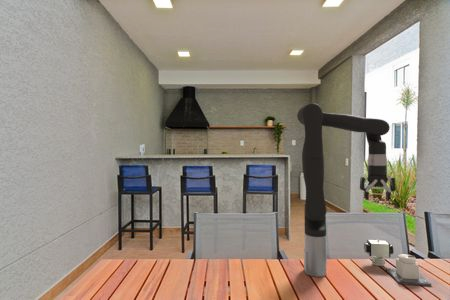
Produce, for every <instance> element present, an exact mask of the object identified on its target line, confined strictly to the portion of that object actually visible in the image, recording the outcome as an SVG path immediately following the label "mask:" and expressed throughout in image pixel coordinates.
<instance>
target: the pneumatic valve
mask: <svg viewBox="0 0 450 300" xmlns="http://www.w3.org/2000/svg"><path fill="white" fill-rule="evenodd" d="M363 250H364V253H367V255H369V257H372V258H371V263H372V264H373V265H374V266H377V267H384V266H385V264H386V260H385V259H384V258H391V256H392V255H393V254H394V246H393V244H391V243H389V241H387V240H380V239H376V240H375V239H366V242H364V243H363Z"/></svg>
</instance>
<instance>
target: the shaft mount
mask: <svg viewBox="0 0 450 300" xmlns="http://www.w3.org/2000/svg"><path fill="white" fill-rule="evenodd" d="M385 271H386V272H387V273H388V274H389V276H390V277H392V279H393V280H395V282H397V284H399V285H408V286H409V285H411V286H423V287H424V286H426V287H432V283H431V282H430V281H429V280H428V279H426V278H425V277H424V276H423V274H420V273H419V279H407V278H402V277H401V276H400V275H399V274H398V273H397V272H396V268H387V267H386V268H385Z"/></svg>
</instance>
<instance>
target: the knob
mask: <svg viewBox="0 0 450 300" xmlns="http://www.w3.org/2000/svg"><path fill="white" fill-rule="evenodd" d="M397 256H398V258H397V257H396V258H395V269H396V272H397V273H398V274H399V275H400V276H401V277H402V278H407V279H419V274H420V265H419V264H418V263H417V261H416V260H417V258H416V257H415V255H411V254H406V253H402V254H398V255H397Z"/></svg>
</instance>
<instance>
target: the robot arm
mask: <svg viewBox="0 0 450 300" xmlns="http://www.w3.org/2000/svg"><path fill="white" fill-rule="evenodd" d="M296 118H297V120H298V122H299V123H300V124H302V125H303V126H304V141H303V146H302V152H301V165H302V174H303V180H304V185H305V203H304V248H303V269H304V273H305V276H306V275H308V276H311V277H316V278H323V277H325V276H327V221H326V220H327V219H326V218H327V217H326V215H327V205H326V199H325V194H324V181H325V160H324V146H323V127H328V128H329V127H330V128H335V129H339V130H344V131H347V132H348V131H349V132H354V133H365V137H366V141H367V144H368V158H367V177H365V176H360V180H359V190H361V191H363V196H364V197H363V198H364V199H365V200H366V201H369V200H370V191H371V189H372V188H373V187H374V188H377V187H378V188H383V189H384V190H385V201H387V202H389V201H390V200H391V198H392V197H391V196H392V194H391V193H393V192H396V190H397V188H396V178H395V177H394V176H393V177H392V176H391V177H388V176H387V175H388V160H387V143H386V142H384V141H383V140H382V136H385V135H387V134H388V132H389V131H390V128H391V127H390V125H389V123H388V121H386V120H384V119H380V118H372V117H370V118H369V117H362V116H358V115H354V114H346V113H332V112H324V111H323V110H322V107H321V106H320V105H319V104H318V103H315V102H311V103H308V104H305V105H303V106H302V107H301V108H300V109H299V110H298V111H297V117H296ZM366 182H367V184H365V183H366ZM387 182H389V185H388V184H387Z"/></svg>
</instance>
